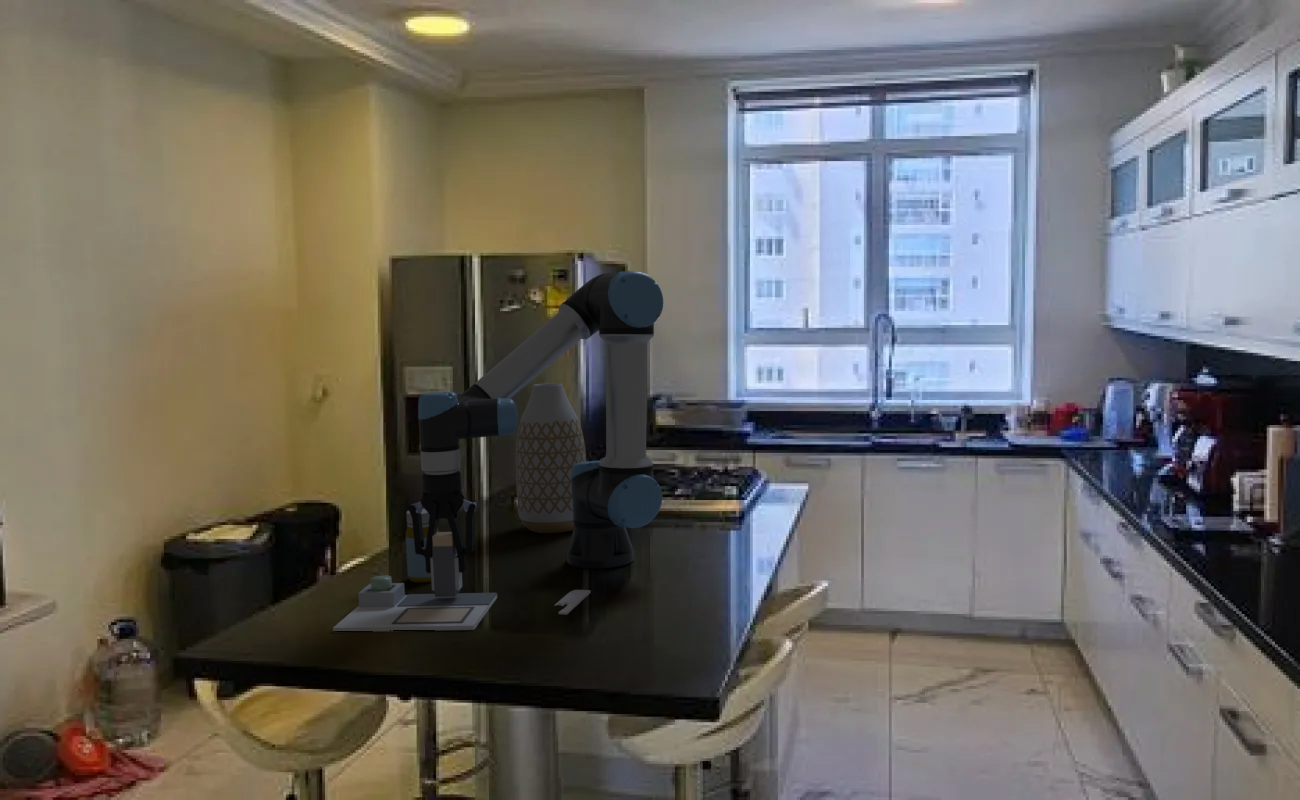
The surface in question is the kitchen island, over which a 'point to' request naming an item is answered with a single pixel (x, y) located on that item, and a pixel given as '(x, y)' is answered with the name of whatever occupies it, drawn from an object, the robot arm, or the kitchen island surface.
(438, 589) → the two-tone square rod
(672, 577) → the kitchen island surface
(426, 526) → the bottle
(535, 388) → the vase
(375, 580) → the button
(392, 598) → the board
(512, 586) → the kitchen island surface
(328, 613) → the kitchen island surface
